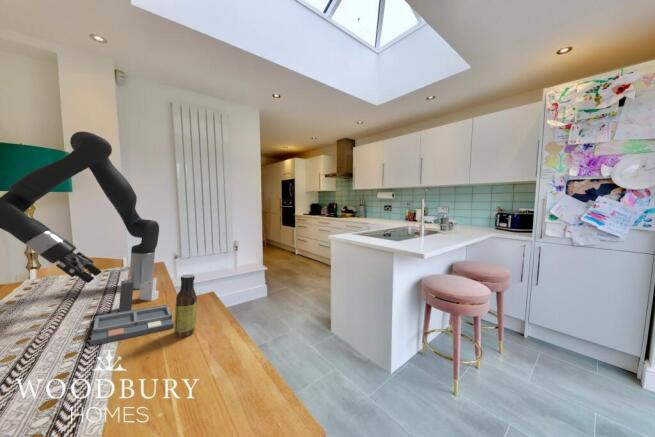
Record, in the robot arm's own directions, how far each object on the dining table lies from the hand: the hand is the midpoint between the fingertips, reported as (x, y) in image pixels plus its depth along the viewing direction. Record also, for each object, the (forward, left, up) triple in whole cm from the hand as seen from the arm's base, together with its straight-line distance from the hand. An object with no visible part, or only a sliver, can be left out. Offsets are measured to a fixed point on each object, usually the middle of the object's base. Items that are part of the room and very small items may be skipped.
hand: (95, 277), depth 86 cm
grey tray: (+17, +11, -13) cm, 24 cm away
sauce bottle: (+31, +24, -14) cm, 41 cm away
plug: (+2, +9, -13) cm, 16 cm away
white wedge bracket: (-6, +17, -14) cm, 23 cm away
